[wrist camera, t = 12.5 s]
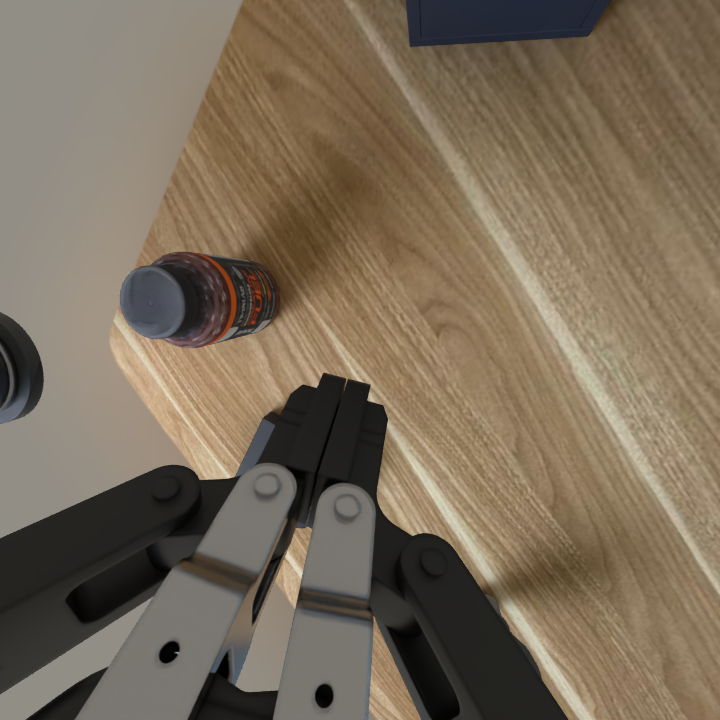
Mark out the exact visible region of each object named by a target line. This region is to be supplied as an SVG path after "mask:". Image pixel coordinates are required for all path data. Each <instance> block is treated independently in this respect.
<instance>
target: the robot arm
mask: <svg viewBox="0 0 720 720" xmlns="http://www.w3.org/2000/svg"><path fill="white" fill-rule="evenodd" d="M345 384H346V378H342V377H339V376H335V375H331V374H327V373H323V375H322V377H321V380H320V382H319V385H318V387H317V388H314V387H311V386H307V385H302V386H300V387H299V388H298V389H296V390H295V391H294V392H293V393H291V394H290V397H289V399H288V401H287V403H286V405H285V407H284V409H283V411H282V413H281V415H280V417H279V420H278V421H277V423H276V425H275V427H274V429H273V431H272V433H271V435H270V437H269V439H268V441H267V444H266V446H265V448H264V450H263V452H262V454H261V456H260V458H259V460H258V461H257V463H256V464H255V465H254V466H253V467H251V468H249V469H248V470H246V471H245V472H244V473H243V474H242V475H240V476H237V477H234V478H229V479H215V480H199V478H198V476H197V475H196V473H195V472H194V471H192V470H191V469H189V468H187V467H184V466H180V465H167V466H162V467H159V468H156V469H154V470H152V471H149V472H147V473H145V474H143V475H140V476H138V477H136V478H134V479H132V480H130V481H127V482H125V483H123V484H120V485H118V486H116V487H114V488H111V489H109V490H107V491H105V492H103V493H101V494H98V495H96V496H94V497H91V498H89V499H87V500H85V501H82V502H80V503H78V504H76V505H74V506H71V507H69V508H67V509H65V510H62V511H60V512H58V513H56V514H54V515H51V516H49V517H47V518H45V519H42V520H40V521H38V522H36V523H33V524H31V525H29V526H27V527H24V528H22V529H20V530H18V531H16V532H13V533H11V534H9V535H7V536H4V537H3V538H0V694H1V693H3V692H5V691H6V690H8V689H9V688H11V687H12V686H14V685H15V684H17V683H19V682H20V681H22V680H23V679H25V678H27V677H28V676H30V675H31V674H33V673H34V672H36V671H37V670H39V669H41V668H42V667H44V666H45V665H47V664H48V663H50V662H51V661H53V660H55V659H56V658H58V657H59V656H61V655H62V654H64V653H66V652H67V651H69V650H70V649H72V648H73V647H75V646H76V645H78V644H79V643H81V642H83V641H84V640H86V639H87V638H89V637H90V636H92V635H93V634H95V633H97V632H98V631H100V630H101V629H103V628H105V627H106V626H108V625H109V624H111V623H112V622H114V621H115V620H117V619H119V618H120V617H122V616H123V615H125V614H126V613H128V612H129V611H131V610H133V609H134V608H136V607H137V606H139V605H140V604H142V603H144V602H145V601H147V600H148V599H150V598H151V597H153V596H154V597H153V599H152V600H151V602H150V603H149V605H148V606H147V608H146V609H145V611H144V613H143V614H142V616H141V617H140V619H139V620H138V622H137V624H136V625H135V627H134V628H133V630H132V631H131V633H130V635H129V636H128V638H127V639H126V641H125V642H124V644H123V645H122V647H121V648H120V650H119V652H118V653H117V655H116V656H115V658H114V659H113V661H112V662H111V664H110V666H109V667H106V668H104V669H102V670H100V671H98V672H96V673H94V674H91V675H90V676H88V677H86V678H85V679H83V680H81V681H79V682H78V683H76V684H75V685H73V686H72V687H70V688H69V689H67V690H66V691H64V692H63V693H62V694H60V695H59V696H57V697H56V698H55V699H53V700H52V701H51V702H49V703H48V704H46V705H45V706H44V707H42V708H41V709H40V710H38V711H37V712H36V713H34V714H33V715H31V716H30V717H29V718H27V719H26V720H368V714H369V697H370V680H371V663H372V646H373V616H374V617H375V619H376V622H377V625H378V627H379V629H380V631H381V633H382V636H383V638H384V640H385V642H386V644H387V646H388V649H389V651H390V653H391V655H392V657H393V659H394V661H395V664H396V666H397V668H398V670H399V672H400V674H401V677H402V679H403V681H404V683H405V685H406V687H407V689H408V692H409V694H410V696H411V698H412V700H413V702H414V704H415V707H416V709H417V711H418V713H419V715H420V717H421V720H568V718H567V717H566V715H565V714H564V712H563V711H562V709H561V708H560V706H559V705H558V703H557V702H556V700H555V699H554V697H553V696H552V694H551V693H550V691H549V690H548V688H547V687H546V685H545V684H544V682H543V681H542V679H541V678H540V676H539V675H538V673H537V672H536V670H535V669H534V667H533V666H532V664H531V663H530V661H529V660H528V658H527V657H526V655H525V654H524V652H523V651H522V649H521V648H520V646H519V645H518V643H517V642H516V641H515V639H514V638H513V636H512V635H511V633H510V632H509V630H508V629H507V627H506V626H505V624H504V623H503V621H502V620H501V618H500V617H499V615H498V614H497V612H496V611H495V609H494V608H493V606H492V605H491V603H490V602H489V600H488V599H487V597H486V596H485V594H484V593H483V591H482V590H481V588H480V587H479V585H478V584H477V582H476V581H475V579H474V578H473V576H472V575H471V573H470V572H469V570H468V569H467V567H466V566H465V564H464V563H463V561H462V560H461V558H460V557H459V555H458V554H457V552H456V551H455V550H454V548H453V547H452V546H451V545H450V544H449V543H448V542H446V541H445V540H444V539H442V538H440V537H439V536H436V535H433V534H429V533H422V534H417V535H414V536H411V535H410V534H408V533H407V532H405V531H404V530H402V529H400V528H399V527H397V526H396V525H394V524H393V523H392V522H390V521H389V520H388V519H387V518H386V516H385V515H384V514H383V512H382V511H381V509H380V507H379V505H378V501H377V495H376V493H377V485H378V479H379V472H380V466H381V460H382V453H383V446H384V441H385V434H386V428H387V422H388V418H387V415H386V412H385V409H384V406H383V405H380V404H376V403H372V402H369V401H367V398H368V394H369V390H370V384H366V383H362V382H358V381H354V380H351V379H348V381H347V384H346V387H345ZM18 385H19V377H18V370H17V366H16V363H15V360H14V357H13V355H12V353H11V351H10V350H9V348H8V347H7V345H6V344H5V343H4V341H3V340H2V339H1V338H0V411H3V410H4V409H6V408H7V407H9V406H10V405H11V404H12V402H13V401H14V399H15V397H16V394H17V391H18ZM344 388H345V390H344ZM311 505H312V507H311ZM310 508H311V512H310ZM309 512H310V517H309V522H308V525H309V526H312V527H313V528H312V533H311V537H310V542H309V547H308V551H307V556H306V561H305V565H304V570H303V575H302V580H301V585H300V589H299V594H298V599H297V604H296V609H295V613H294V618H293V623H292V628H291V633H290V637H289V642H288V647H287V652H286V656H285V661H284V666H283V671H282V676H281V680H280V685H279V690H278V691H263V692H244V691H242V690H240V689H239V688H237V687H236V686H235V684H236V682H237V679H238V677H239V674H240V672H241V669H242V667H243V664H244V662H245V659H246V656H247V654H248V650H249V648H250V644H251V641H252V637H253V634H254V631H255V628H256V626H257V623H258V621H259V618H260V616H261V613H262V611H263V609H264V606H265V604H266V601H267V599H268V596H269V594H270V592H271V589H272V587H273V584H274V582H275V580H276V577H277V575H278V572H279V570H280V567H281V565H282V563H283V560H284V558H285V555H286V553H287V550H288V547H289V545H290V543H291V540H292V537H293V534H294V531H295V528H296V525H297V523H300V524H304V525H306V521H307V518H308V515H309Z"/></svg>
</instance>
